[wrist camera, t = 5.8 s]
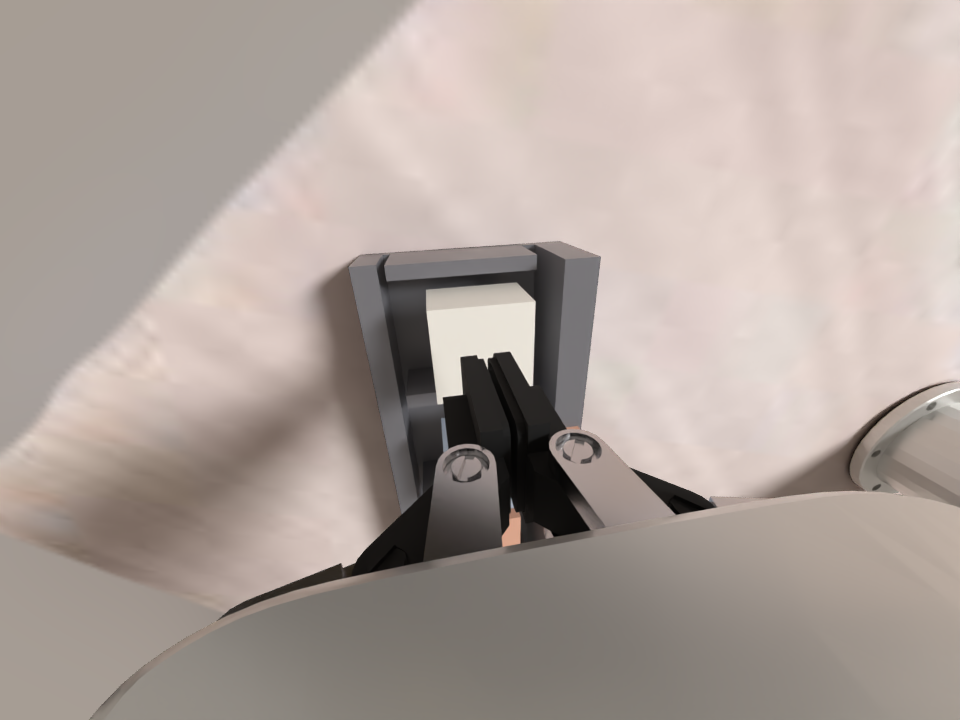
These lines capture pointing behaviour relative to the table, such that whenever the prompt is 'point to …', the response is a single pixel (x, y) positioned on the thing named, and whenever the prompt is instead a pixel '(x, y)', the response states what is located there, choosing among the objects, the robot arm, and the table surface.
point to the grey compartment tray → (407, 351)
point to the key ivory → (478, 330)
